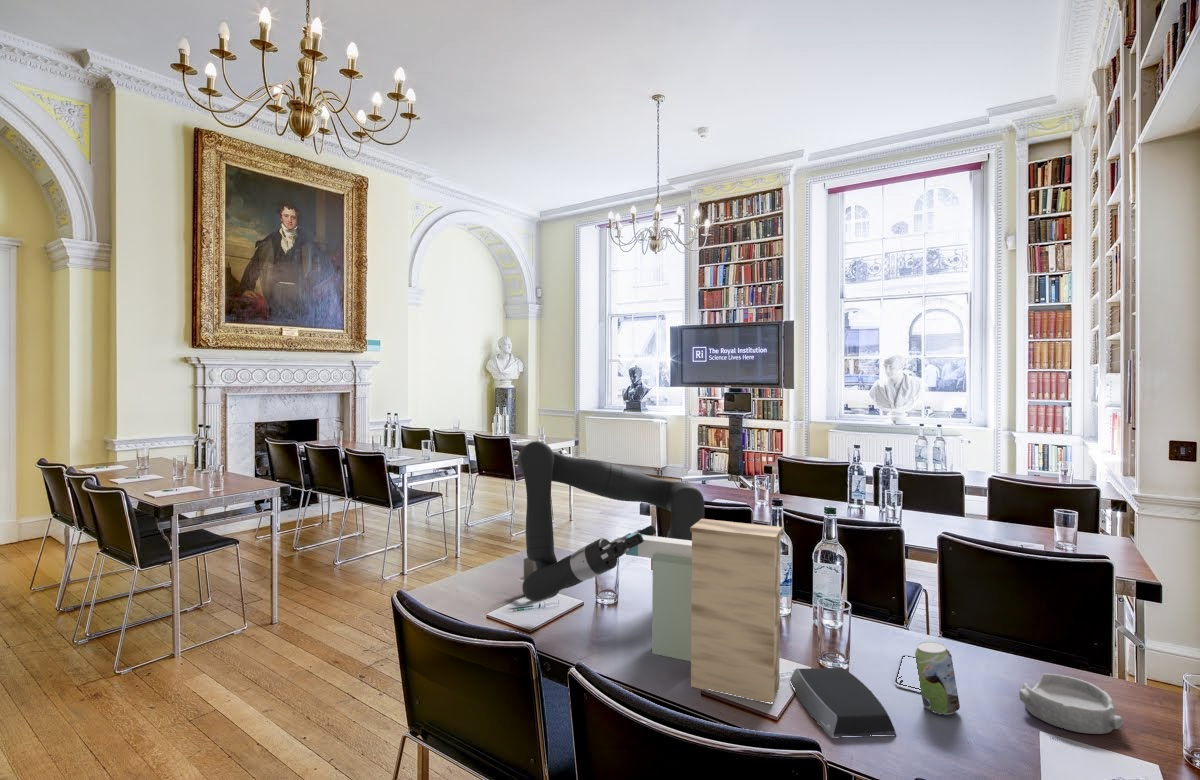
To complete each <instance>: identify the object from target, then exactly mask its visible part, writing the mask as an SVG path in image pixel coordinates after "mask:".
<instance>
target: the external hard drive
mask: <svg viewBox="0 0 1200 780" xmlns="http://www.w3.org/2000/svg"><path fill="white" fill-rule="evenodd" d="M790 681H791V683H792V685H793V687H794V688H795V691H796V692H794V694H795V693H796V694H795V696H796V697H797V699H798V700H799V702H800V703H801V704H802V706H803V707H804V708H806V709H807V710H806V709H805V710H806V711H807V713H808V714H809V713H810V714H809V715H810V716H811V715H812V716H811V717H812V719H813V718H814V719H815V720H816V721H817V722H818V723H819V724H820V726H821V727H822V728H823V729H824V730H823V729H822V728H821V727H820V726H819V727H820V728H821V729H822V730H823V731H824V732H825V734H826V735H828V736H829V737H830V738H831V737H842V736H870V735H871V736H872V735H897V733H896V732H897V731H896V729H895V726H894V724H893V722H892V720H891V718H890V716H889V713H888V712H887V710H886V709H885V707H884V706H883V705H882V703H881V702H880V701H879V699H878V698H877V697H876V695H875V694H874V693H873V692H872V691H871V690H870V689H869V688H868V687H867V686H866V684H864V683H863V682H862V681H861V680H860V679H859V678H858V677H856V676H855V675H854V674H852V673H851V672H849V671H848V670H847V669H845V668H844V667H824V668H823V667H820V668H819V667H817V668H795V669H794V671H793V673H792V674H791V677H790V680H789V682H790ZM814 719H813V720H814ZM815 720H814V721H815ZM816 721H815V722H816ZM817 722H816V723H817ZM818 723H817V724H818ZM819 724H818V725H819Z"/></svg>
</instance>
